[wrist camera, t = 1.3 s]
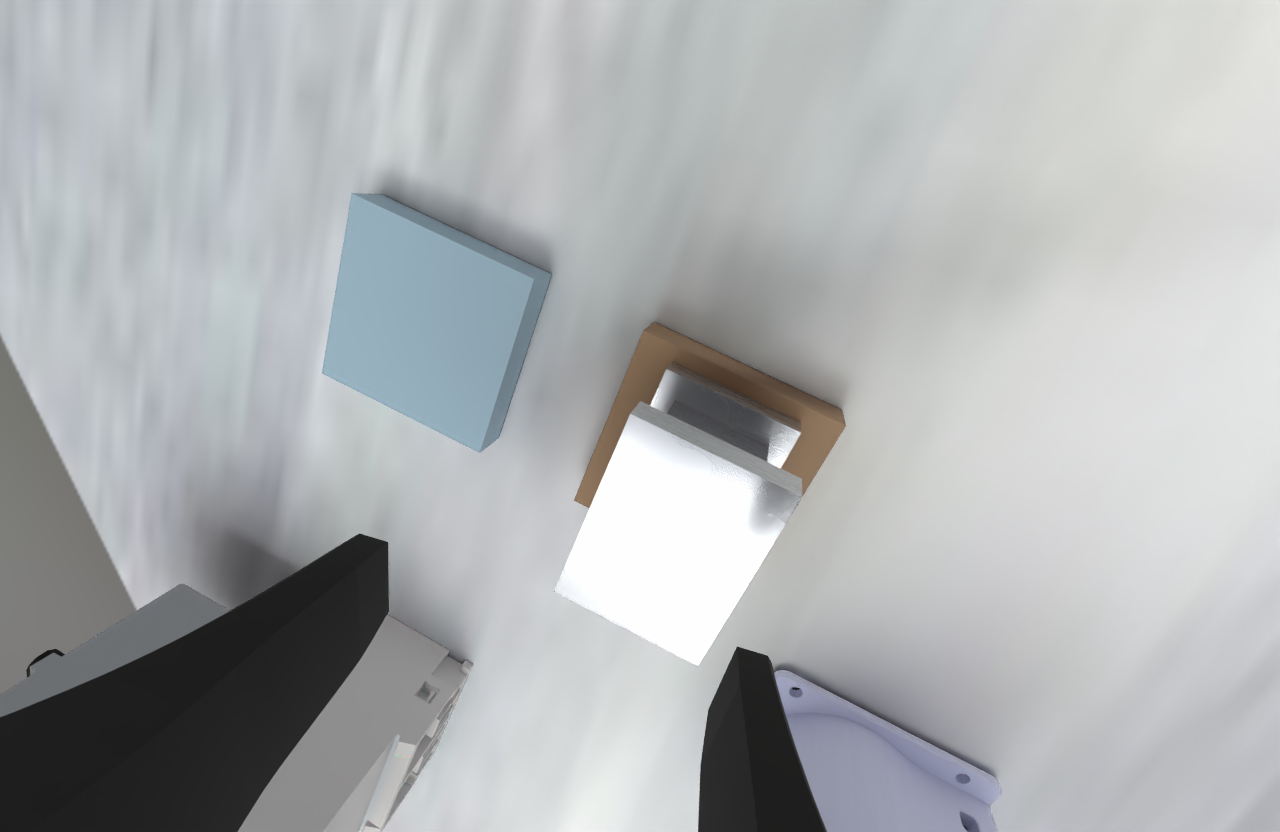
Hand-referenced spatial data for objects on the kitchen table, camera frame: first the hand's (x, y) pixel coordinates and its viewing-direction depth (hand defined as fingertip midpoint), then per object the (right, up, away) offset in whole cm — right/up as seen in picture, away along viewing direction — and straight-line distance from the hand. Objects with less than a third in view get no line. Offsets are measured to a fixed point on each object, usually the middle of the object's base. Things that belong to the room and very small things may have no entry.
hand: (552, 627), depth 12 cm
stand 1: (-6, +8, +10) cm, 14 cm away
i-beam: (+4, +3, +8) cm, 9 cm away
